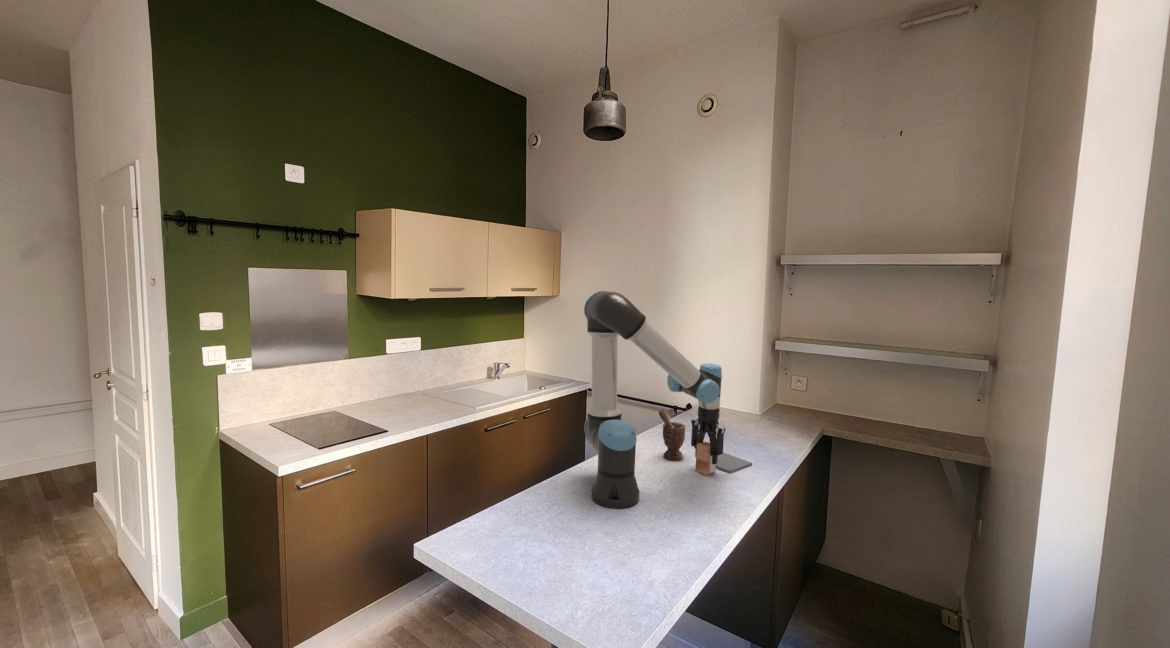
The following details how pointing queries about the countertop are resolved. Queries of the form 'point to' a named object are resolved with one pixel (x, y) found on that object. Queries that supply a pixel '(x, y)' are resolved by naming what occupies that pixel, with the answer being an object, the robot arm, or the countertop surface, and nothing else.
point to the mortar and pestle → (672, 437)
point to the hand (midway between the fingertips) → (705, 469)
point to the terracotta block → (703, 458)
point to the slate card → (731, 463)
